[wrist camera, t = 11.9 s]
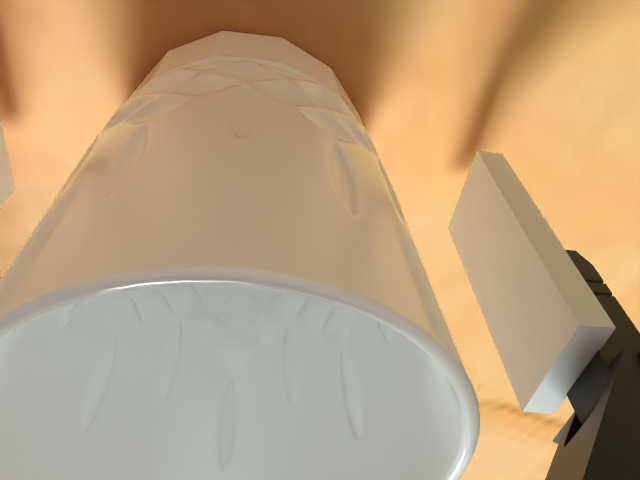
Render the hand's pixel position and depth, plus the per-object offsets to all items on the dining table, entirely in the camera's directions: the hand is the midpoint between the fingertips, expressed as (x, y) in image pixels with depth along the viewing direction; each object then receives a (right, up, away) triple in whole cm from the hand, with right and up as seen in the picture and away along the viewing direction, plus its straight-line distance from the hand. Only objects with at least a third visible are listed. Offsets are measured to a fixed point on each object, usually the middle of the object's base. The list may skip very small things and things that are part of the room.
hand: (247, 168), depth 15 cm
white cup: (0, +1, +1) cm, 1 cm away
